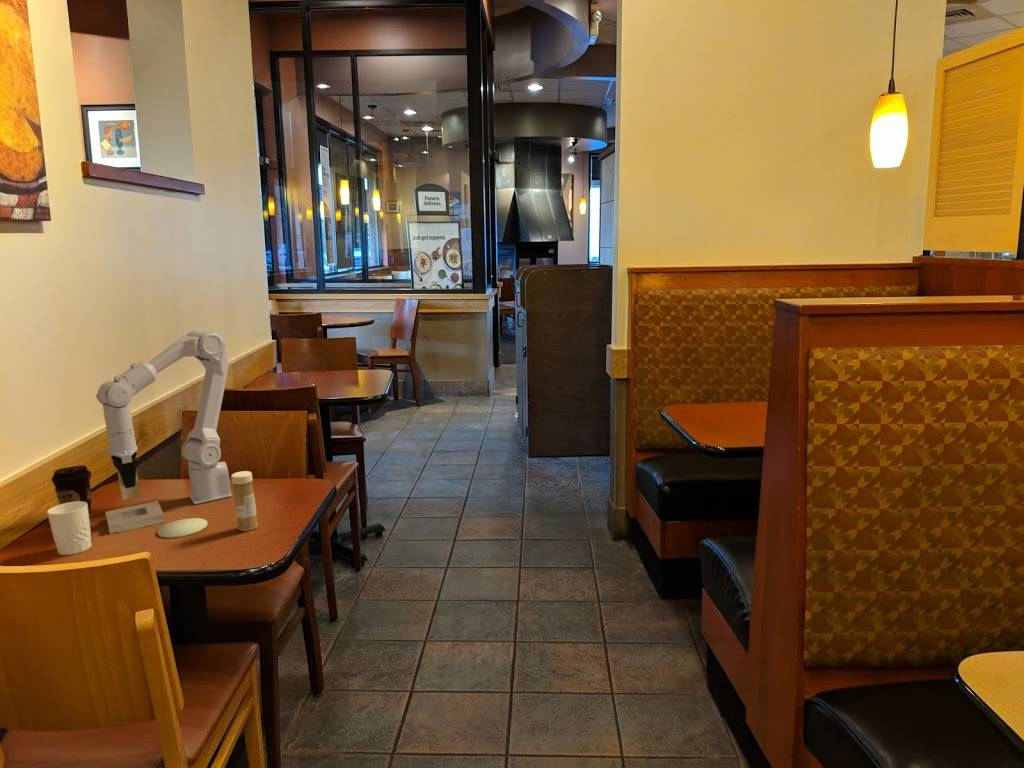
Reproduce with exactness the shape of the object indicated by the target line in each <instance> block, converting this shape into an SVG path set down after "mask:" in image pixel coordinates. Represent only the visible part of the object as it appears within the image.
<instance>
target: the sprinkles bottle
mask: <svg viewBox="0 0 1024 768" xmlns="http://www.w3.org/2000/svg"><path fill="white" fill-rule="evenodd" d="M230 479H231V484H232V486H233V493H234V503H235V510H236V517H237V524H238V525H237V530H239V531H241V532H251V531H253V530H255V529H257V528H258V527H259V522H258V518H257V507H256V499H255V492H254V488H253V473H252V472H251V471H248V470H244V471H237V472H234V473H232V474H231V476H230Z"/></svg>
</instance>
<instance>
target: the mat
mask: <svg viewBox="0 0 1024 768" xmlns="http://www.w3.org/2000/svg"><path fill="white" fill-rule="evenodd" d="M208 525H209V524H208V520H206V519H204V518H199V517H194V518H193V517H192V518H183V519H179V520H174V521H172V522H168V523H166V524H164V525H162V526H161V527H159V528H158V530H157V531H156V532H157V535H159V536H158V537H160V538H162V537H165V538H164V539H175V538H174V537H179V538H184V537H183V536H185V537H188V536H187V535H189V536H192V535H195V534H198V533H200V532H202V531H203V529H204V528H205V529H206V528H207V527H208ZM205 529H204V530H205ZM201 530H202V531H201ZM199 531H200V532H199ZM197 532H198V533H197ZM194 533H195V534H194ZM191 534H192V535H191Z"/></svg>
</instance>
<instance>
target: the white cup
mask: <svg viewBox="0 0 1024 768" xmlns="http://www.w3.org/2000/svg"><path fill="white" fill-rule="evenodd" d="M46 514H47V517H48V522H49V526H50V530H51V534H52V537H53V540H54V543H55V545H56V549H57V554H58V555H61V556H71V555H77V554H80V553H83V552H85V551H87V550H90V548H91V547H92V536H91V535H92V531H91V521H90V518H89V513H88V504H87V503H86V502H82V501H77V502H69V503H64V504H57V505H56V506H52V507H51V508H49V509H47V511H46Z"/></svg>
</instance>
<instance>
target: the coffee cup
mask: <svg viewBox="0 0 1024 768" xmlns="http://www.w3.org/2000/svg"><path fill="white" fill-rule="evenodd" d="M91 476H92V472H91V471H90V470H88V466H86V465H73V466H69V467H61V468H58V469H56V470H55V471H53V475H52V477H51V482H52V483H53V485H54V488H55V489H54V491H55V494H56V497H57V500H58V505H60V504H64V503H69V502H77V501H82V502H86V503H87V504H88V513H89V516H91V515H92V514H93V512H92V500H93V499H92V486H91Z"/></svg>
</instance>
